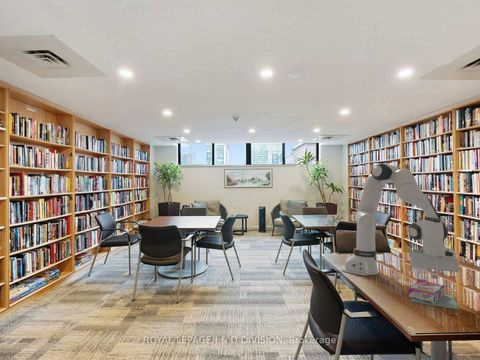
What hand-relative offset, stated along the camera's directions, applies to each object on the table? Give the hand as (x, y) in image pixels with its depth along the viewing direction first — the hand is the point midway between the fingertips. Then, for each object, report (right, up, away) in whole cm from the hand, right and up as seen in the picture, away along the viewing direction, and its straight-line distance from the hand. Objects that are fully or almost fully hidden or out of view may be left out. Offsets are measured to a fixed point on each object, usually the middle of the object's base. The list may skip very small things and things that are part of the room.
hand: (434, 278), depth 138 cm
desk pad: (-3, -9, -3) cm, 10 cm away
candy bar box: (+2, -6, +5) cm, 9 cm away
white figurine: (+9, -10, +26) cm, 29 cm away
